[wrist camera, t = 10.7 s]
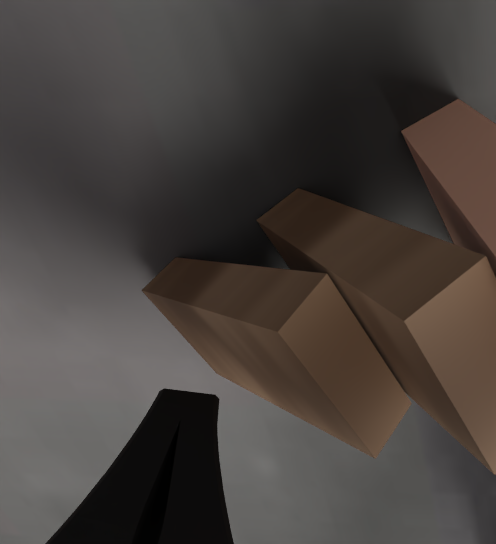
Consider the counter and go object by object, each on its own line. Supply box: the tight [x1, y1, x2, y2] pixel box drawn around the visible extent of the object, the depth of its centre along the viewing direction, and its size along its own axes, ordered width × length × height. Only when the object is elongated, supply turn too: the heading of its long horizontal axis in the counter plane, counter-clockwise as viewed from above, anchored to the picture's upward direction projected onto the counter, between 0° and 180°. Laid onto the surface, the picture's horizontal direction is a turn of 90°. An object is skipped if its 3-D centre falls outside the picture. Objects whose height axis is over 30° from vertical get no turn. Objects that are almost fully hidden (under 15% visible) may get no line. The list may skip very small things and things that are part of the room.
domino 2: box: [256, 188, 496, 475], centre depth 10 cm, size 4×2×7 cm, turn 33°
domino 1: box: [142, 258, 412, 459], centre depth 12 cm, size 4×2×7 cm
